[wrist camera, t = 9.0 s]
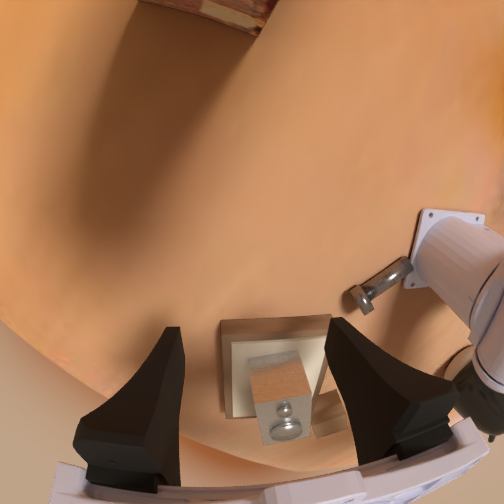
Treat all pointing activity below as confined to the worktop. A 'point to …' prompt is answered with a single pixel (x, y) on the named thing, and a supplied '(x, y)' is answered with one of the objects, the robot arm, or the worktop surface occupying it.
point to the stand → (265, 343)
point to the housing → (281, 396)
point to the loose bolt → (380, 284)
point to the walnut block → (328, 415)
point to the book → (227, 11)
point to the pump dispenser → (476, 395)
